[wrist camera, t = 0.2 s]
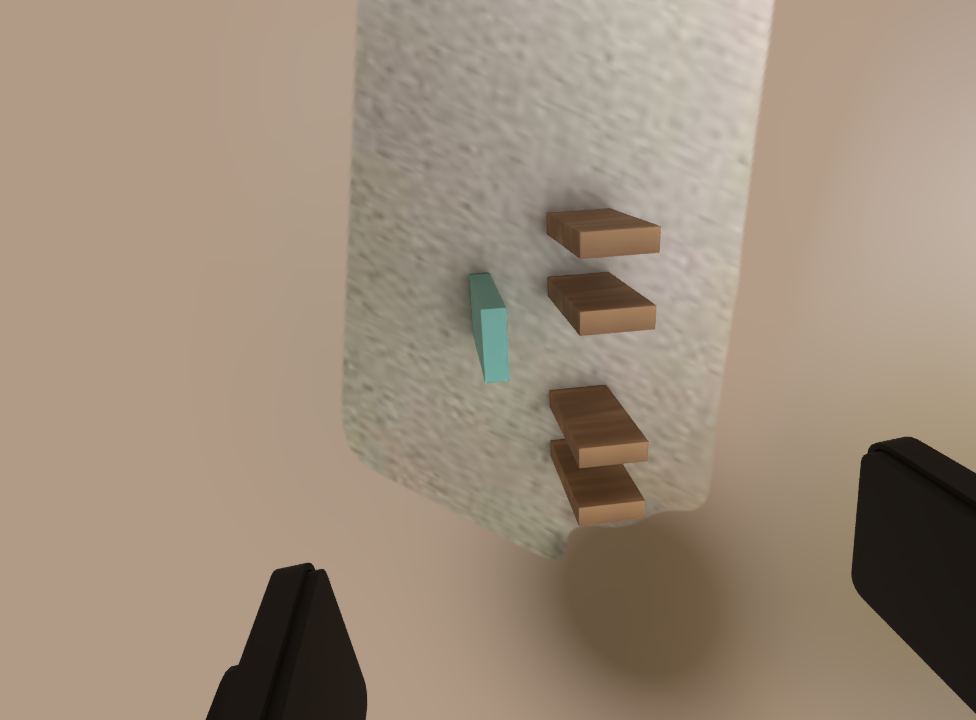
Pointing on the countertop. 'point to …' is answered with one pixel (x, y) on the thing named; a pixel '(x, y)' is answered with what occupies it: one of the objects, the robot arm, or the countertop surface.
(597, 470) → the domino
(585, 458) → the domino
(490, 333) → the domino
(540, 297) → the countertop surface
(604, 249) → the domino
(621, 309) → the domino
